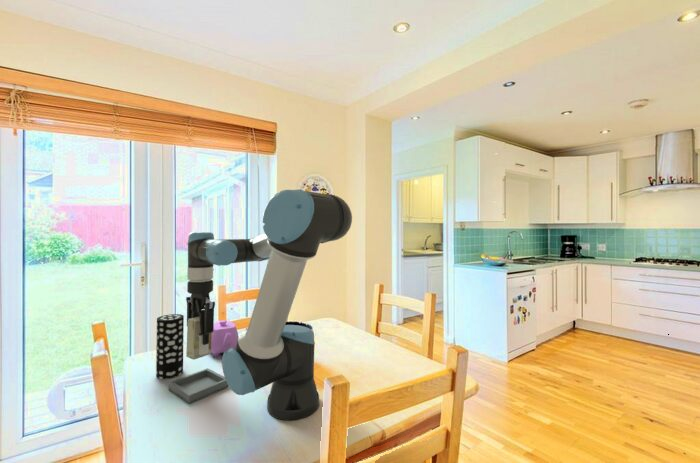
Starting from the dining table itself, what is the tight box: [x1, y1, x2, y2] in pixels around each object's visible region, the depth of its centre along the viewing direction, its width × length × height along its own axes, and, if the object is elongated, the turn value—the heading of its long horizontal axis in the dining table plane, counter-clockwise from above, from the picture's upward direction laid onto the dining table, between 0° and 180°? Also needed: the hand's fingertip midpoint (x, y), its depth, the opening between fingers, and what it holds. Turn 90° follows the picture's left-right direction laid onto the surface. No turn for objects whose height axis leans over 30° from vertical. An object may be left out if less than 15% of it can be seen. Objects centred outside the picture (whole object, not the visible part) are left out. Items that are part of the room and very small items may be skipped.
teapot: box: [211, 319, 240, 357], centre depth 134 cm, size 20×12×13 cm, turn 33°
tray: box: [168, 367, 230, 404], centre depth 103 cm, size 13×13×2 cm
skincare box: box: [185, 317, 212, 361], centre depth 103 cm, size 6×4×12 cm
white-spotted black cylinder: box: [155, 313, 185, 380], centre depth 113 cm, size 8×8×20 cm
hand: (199, 351), depth 103 cm, fingers closed on skincare box, 4 cm apart
